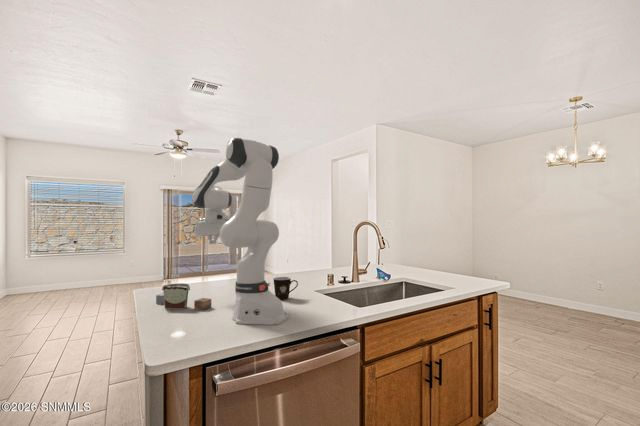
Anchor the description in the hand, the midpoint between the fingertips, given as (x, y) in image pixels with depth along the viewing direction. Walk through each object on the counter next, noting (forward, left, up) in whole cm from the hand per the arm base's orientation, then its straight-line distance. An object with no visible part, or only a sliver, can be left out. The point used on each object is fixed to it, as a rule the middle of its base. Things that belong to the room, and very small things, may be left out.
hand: (212, 244), depth 157 cm
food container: (+3, +20, -27) cm, 34 cm away
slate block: (+15, +16, -27) cm, 35 cm away
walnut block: (-9, +19, -27) cm, 34 cm away
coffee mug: (-37, -7, -27) cm, 47 cm away
